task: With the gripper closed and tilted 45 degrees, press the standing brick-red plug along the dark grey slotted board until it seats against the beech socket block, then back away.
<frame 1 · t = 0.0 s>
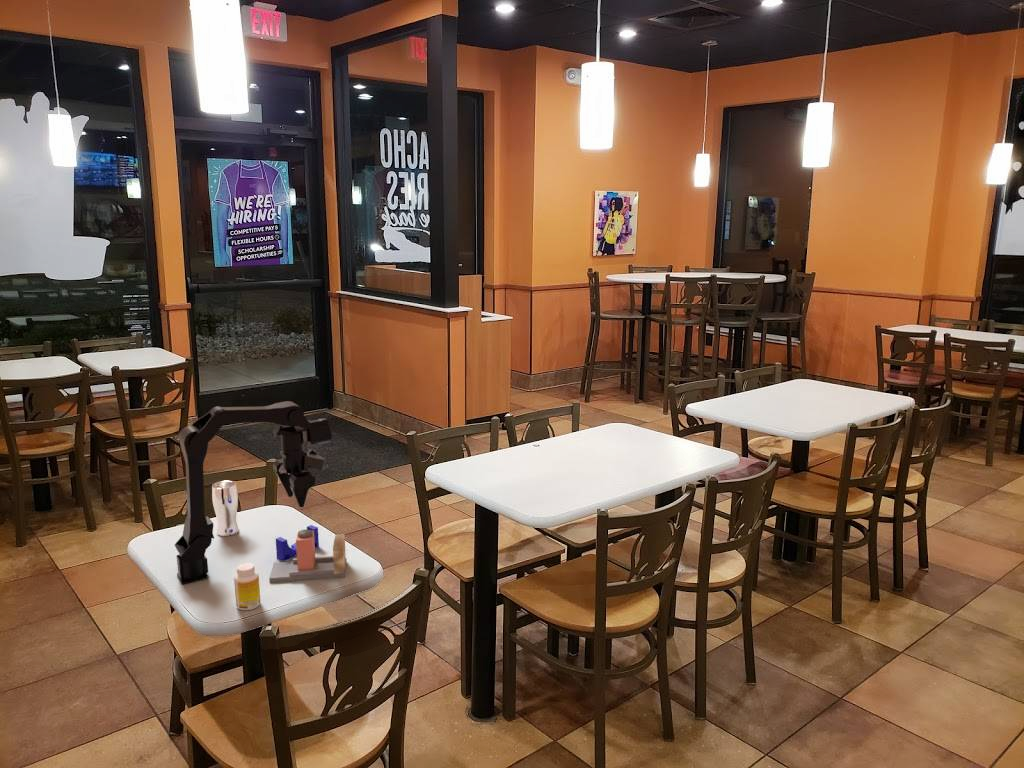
hand: (296, 501, 211), 15 cm above the table, tool pointing down, fingers open, 9 cm apart
socket block: (339, 553, 202), point 5 cm above the table
supplement bottle: (248, 606, 185), on the table
socket board: (299, 572, 201), on the table
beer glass: (228, 532, 226), on the table
plug: (305, 549, 200), point 6 cm above the table, slide at 0.0 cm
blue curved piece: (296, 552, 214), on the table
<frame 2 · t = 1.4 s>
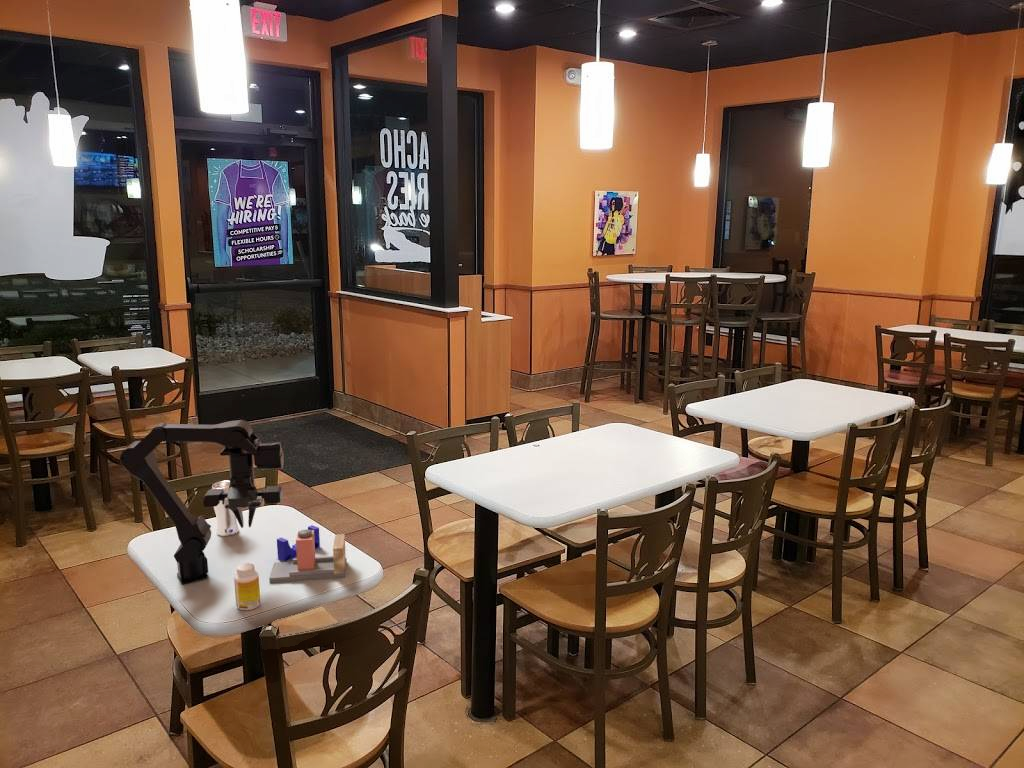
hand: (246, 527, 198), 13 cm above the table, tool pointing down, fingers closed
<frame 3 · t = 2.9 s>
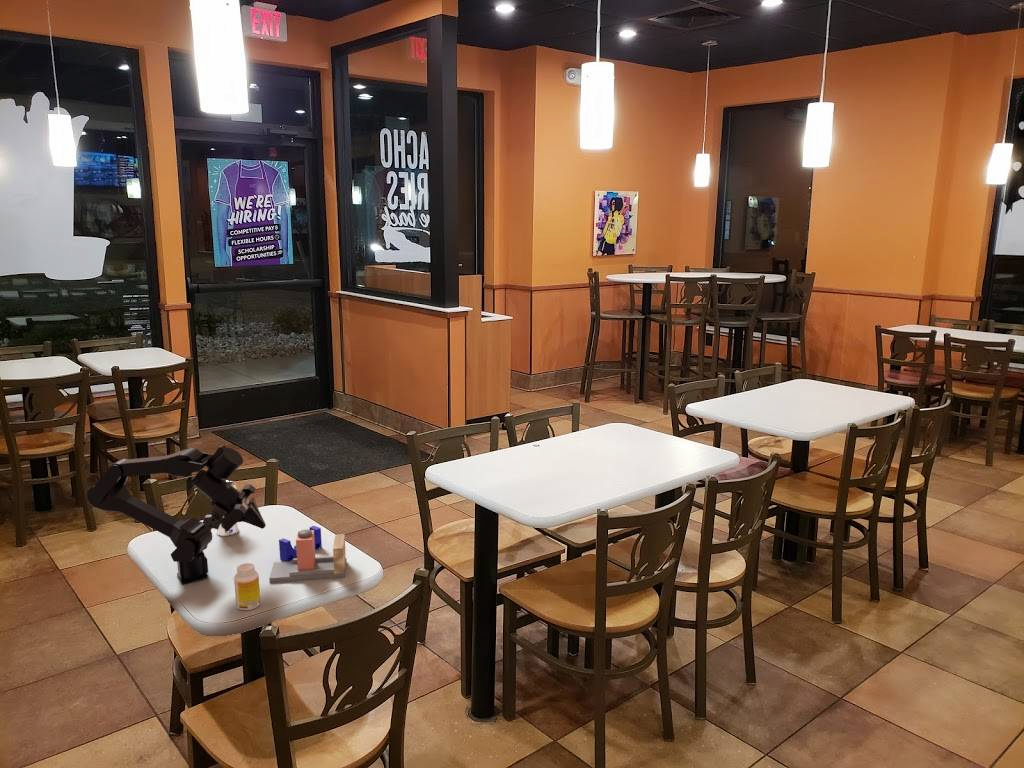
hand: (264, 527, 197), 13 cm above the table, tool tilted 45°, fingers closed
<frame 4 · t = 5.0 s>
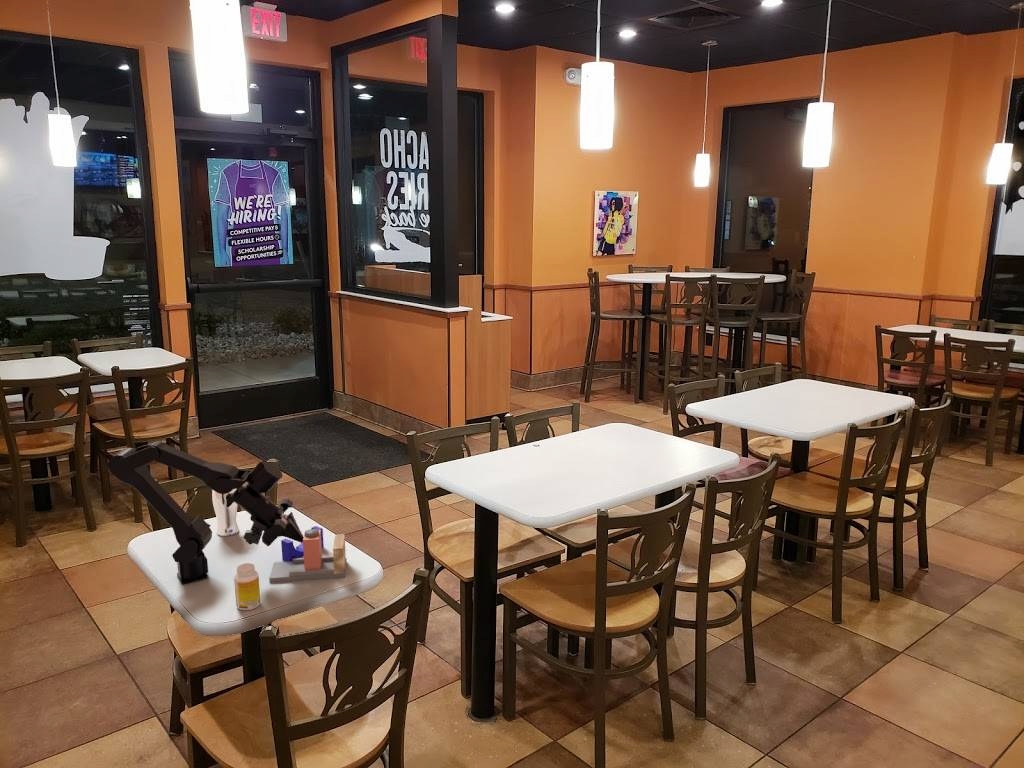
hand: (303, 540, 200), 9 cm above the table, tool tilted 45°, fingers closed, pressing on plug
plug: (312, 549, 201), point 6 cm above the table, slide at 1.7 cm, touching gripper
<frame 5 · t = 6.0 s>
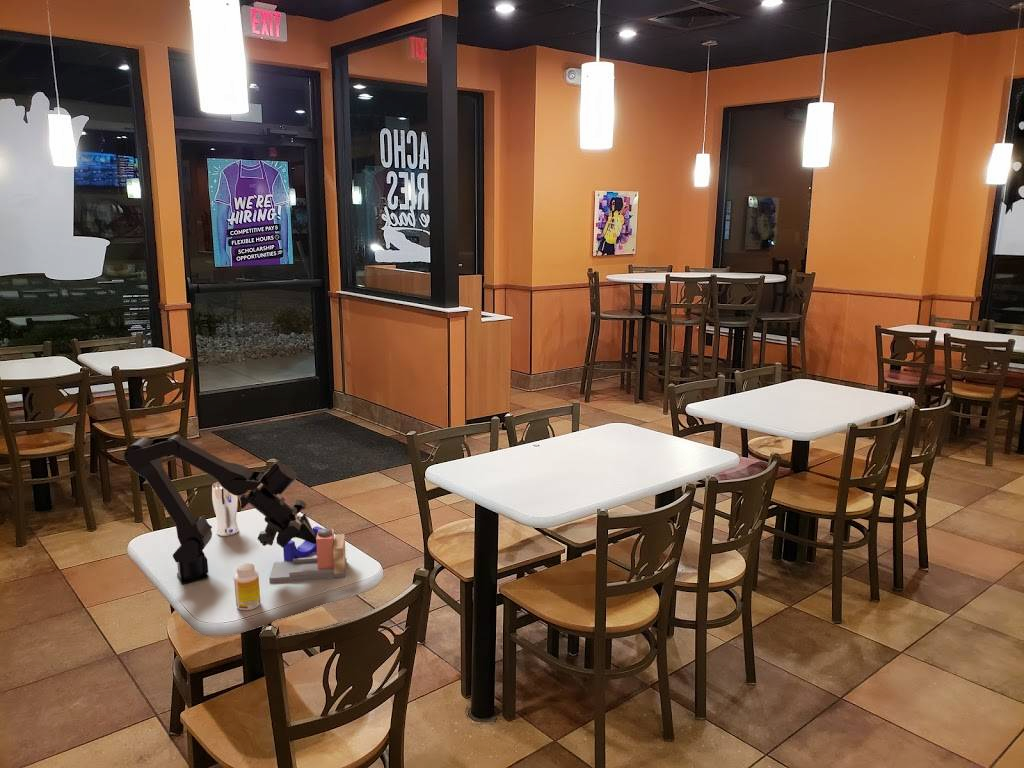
hand: (316, 542, 200), 8 cm above the table, tool tilted 45°, fingers closed, pressing on plug
plug: (325, 548, 201), point 6 cm above the table, slide at 5.1 cm, touching gripper
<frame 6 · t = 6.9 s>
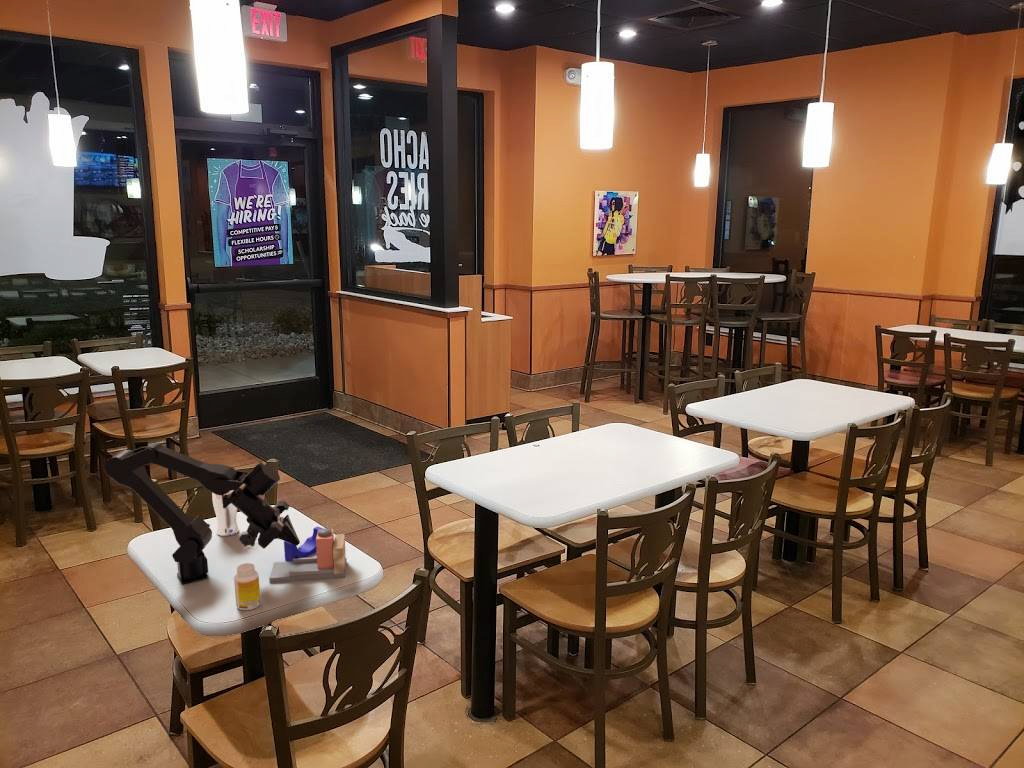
hand: (298, 543, 200), 8 cm above the table, tool tilted 45°, fingers closed
plug: (325, 548, 201), point 6 cm above the table, slide at 5.0 cm
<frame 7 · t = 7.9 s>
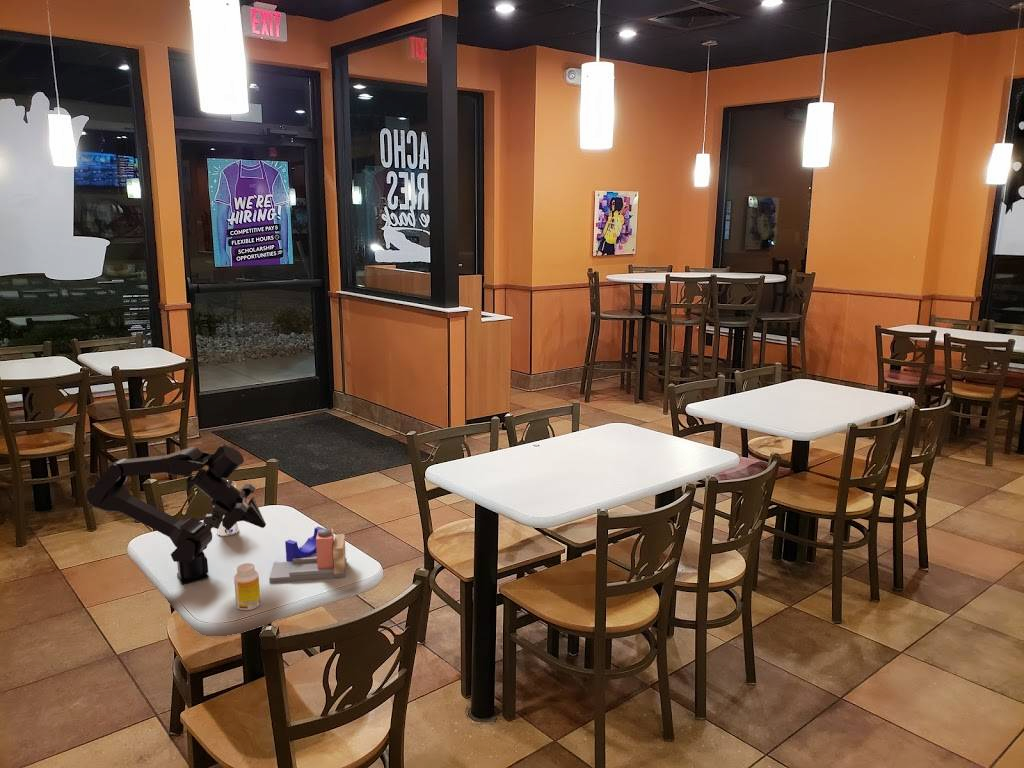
hand: (264, 526, 197), 14 cm above the table, tool tilted 45°, fingers closed
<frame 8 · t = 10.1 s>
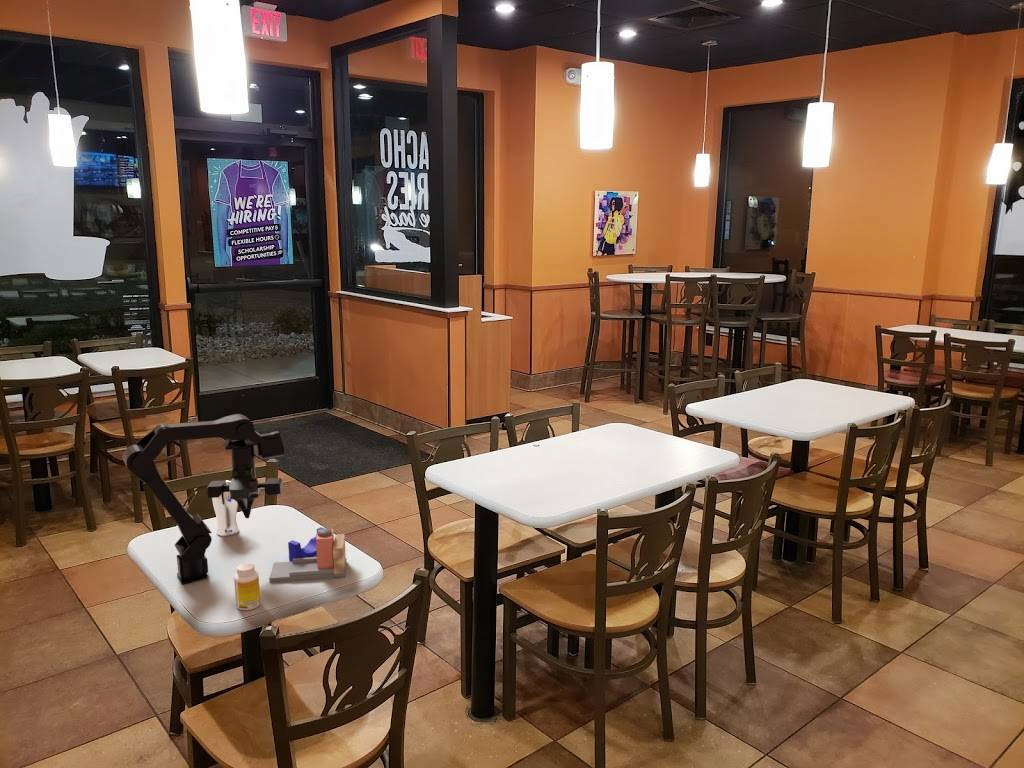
hand: (247, 517, 204), 13 cm above the table, tool pointing down, fingers closed
at the end: plug slide at 5.0 cm; plug moved 5.0 cm from its start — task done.
